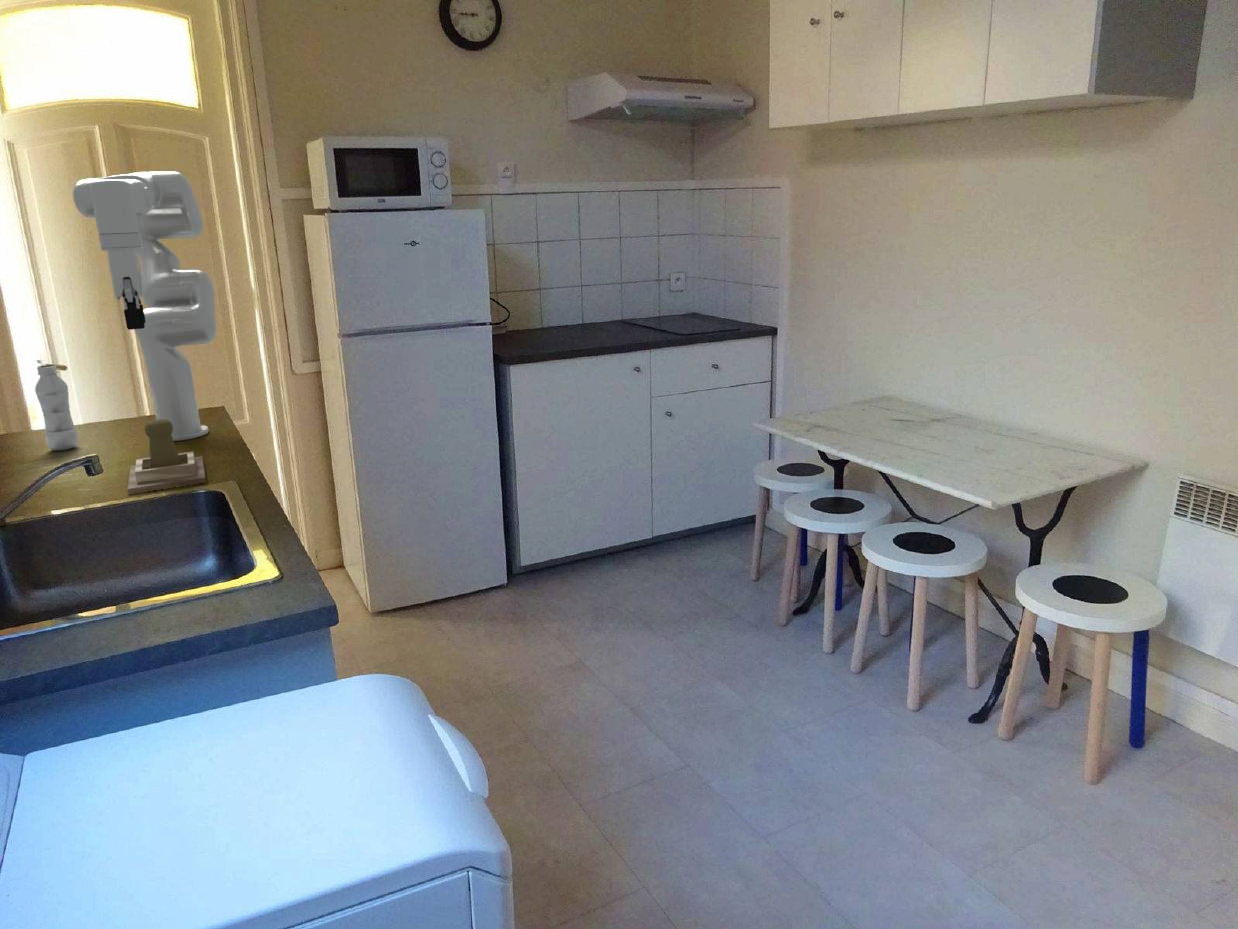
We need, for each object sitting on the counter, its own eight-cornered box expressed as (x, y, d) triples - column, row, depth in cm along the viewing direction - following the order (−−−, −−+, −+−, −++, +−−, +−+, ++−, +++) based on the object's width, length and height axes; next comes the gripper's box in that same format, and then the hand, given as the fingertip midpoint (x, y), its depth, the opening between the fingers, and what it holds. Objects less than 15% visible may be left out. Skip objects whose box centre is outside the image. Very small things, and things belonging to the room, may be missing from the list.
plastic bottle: (41, 452, 205) (22, 368, 200) (68, 444, 211) (50, 362, 206) (60, 454, 203) (41, 369, 197) (87, 446, 209) (69, 364, 203)
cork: (189, 468, 184) (180, 417, 181) (166, 476, 179) (157, 424, 176) (167, 466, 186) (157, 416, 183) (144, 474, 181) (133, 423, 178)
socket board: (131, 471, 188) (128, 456, 187) (202, 461, 194) (200, 446, 193) (128, 494, 172) (125, 478, 171) (206, 483, 178) (203, 467, 177)
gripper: (102, 242, 185) (118, 323, 190) (97, 244, 170) (114, 332, 175) (142, 240, 188) (157, 320, 193) (140, 242, 173) (156, 329, 178)
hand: (136, 326), depth 184 cm, fingers open, 9 cm apart
